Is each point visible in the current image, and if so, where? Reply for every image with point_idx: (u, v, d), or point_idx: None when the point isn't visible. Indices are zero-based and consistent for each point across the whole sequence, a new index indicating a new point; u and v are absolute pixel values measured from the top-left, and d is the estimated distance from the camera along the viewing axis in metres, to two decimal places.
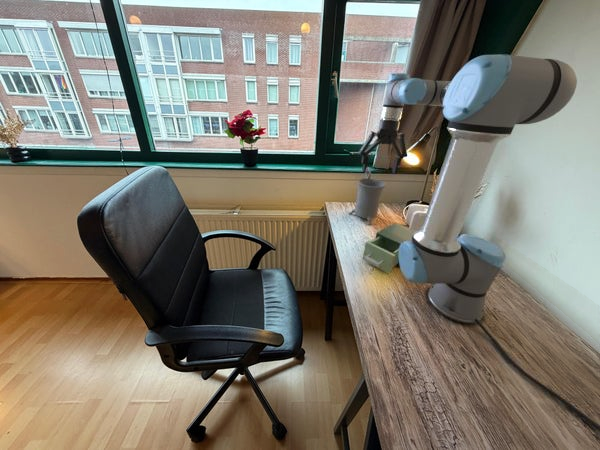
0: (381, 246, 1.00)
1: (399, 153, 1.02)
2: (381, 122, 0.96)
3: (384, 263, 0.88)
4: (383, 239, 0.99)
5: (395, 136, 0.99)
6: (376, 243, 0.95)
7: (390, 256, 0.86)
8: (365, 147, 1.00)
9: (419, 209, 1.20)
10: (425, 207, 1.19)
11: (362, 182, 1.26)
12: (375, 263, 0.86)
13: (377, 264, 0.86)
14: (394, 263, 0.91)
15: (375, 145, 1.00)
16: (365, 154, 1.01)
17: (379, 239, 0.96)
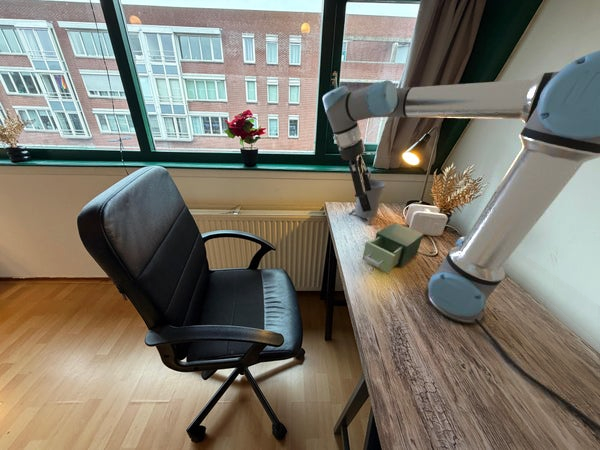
0: (381, 246, 1.00)
1: (365, 169, 0.86)
2: (352, 149, 0.73)
3: (384, 263, 0.88)
4: (383, 239, 0.99)
5: None
6: (376, 243, 0.95)
7: (390, 256, 0.86)
8: (362, 185, 0.74)
9: (419, 209, 1.20)
10: (425, 207, 1.19)
11: None
12: (375, 263, 0.86)
13: (377, 264, 0.86)
14: (394, 263, 0.91)
15: (361, 176, 0.76)
16: (365, 191, 0.76)
17: (379, 239, 0.96)
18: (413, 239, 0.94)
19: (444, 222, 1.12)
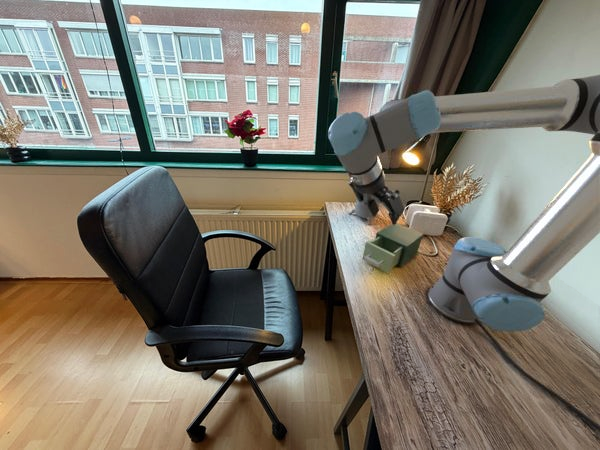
0: (381, 246, 1.00)
1: None
2: (382, 176, 0.56)
3: (384, 263, 0.88)
4: (383, 239, 0.99)
5: None
6: (376, 243, 0.95)
7: (390, 256, 0.86)
8: None
9: (419, 209, 1.20)
10: (425, 207, 1.19)
11: None
12: (375, 263, 0.86)
13: (377, 264, 0.86)
14: (394, 263, 0.91)
15: None
16: None
17: (379, 239, 0.96)
18: (413, 239, 0.94)
19: (444, 222, 1.12)
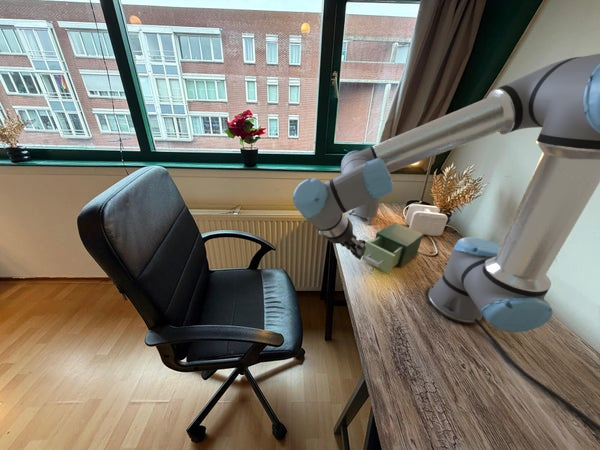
0: (381, 246, 1.00)
1: None
2: (349, 229, 0.59)
3: (384, 263, 0.88)
4: (383, 239, 0.99)
5: None
6: (376, 243, 0.95)
7: (390, 256, 0.86)
8: None
9: (419, 209, 1.20)
10: (425, 207, 1.19)
11: None
12: (375, 263, 0.86)
13: (377, 264, 0.86)
14: (394, 263, 0.91)
15: None
16: None
17: (379, 239, 0.96)
18: (413, 239, 0.94)
19: (444, 222, 1.12)
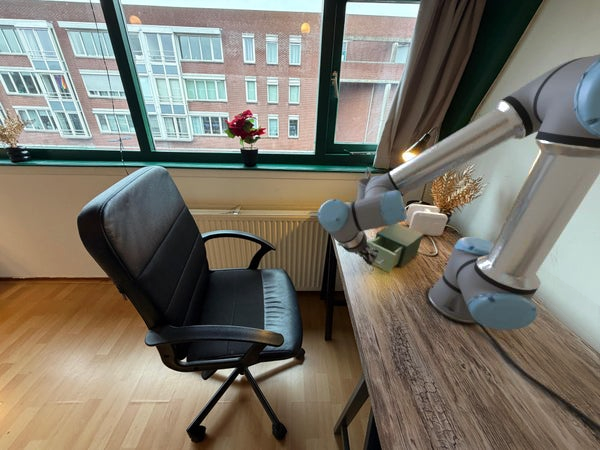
0: (382, 245, 1.01)
1: None
2: (364, 240, 0.68)
3: (385, 262, 0.89)
4: (384, 238, 0.99)
5: None
6: (377, 242, 0.96)
7: (391, 255, 0.86)
8: None
9: (419, 209, 1.20)
10: (425, 207, 1.19)
11: (362, 182, 1.26)
12: (376, 262, 0.87)
13: (378, 263, 0.86)
14: (395, 262, 0.91)
15: None
16: None
17: (380, 238, 0.96)
18: (413, 239, 0.94)
19: (444, 222, 1.12)
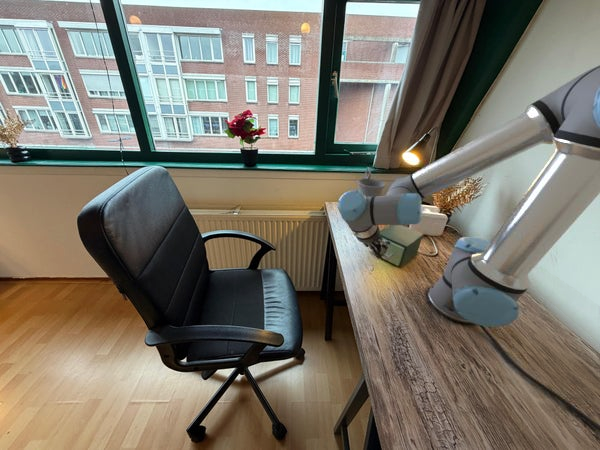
0: None
1: None
2: (377, 231, 0.72)
3: (394, 256, 0.93)
4: None
5: None
6: None
7: (399, 249, 0.90)
8: None
9: None
10: (425, 207, 1.19)
11: (362, 182, 1.26)
12: (385, 256, 0.91)
13: (387, 257, 0.90)
14: None
15: None
16: None
17: None
18: (413, 239, 0.94)
19: (444, 222, 1.12)
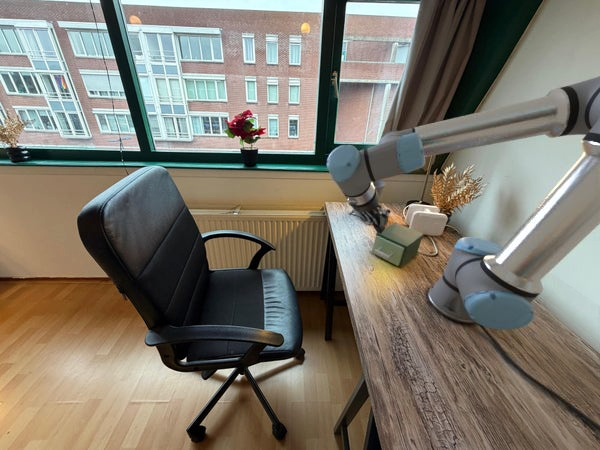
0: None
1: None
2: (375, 197, 0.63)
3: (394, 256, 0.93)
4: None
5: None
6: None
7: (399, 249, 0.90)
8: None
9: (419, 209, 1.20)
10: (425, 207, 1.19)
11: None
12: (385, 256, 0.91)
13: (387, 257, 0.90)
14: None
15: None
16: None
17: None
18: (413, 239, 0.94)
19: (444, 222, 1.12)
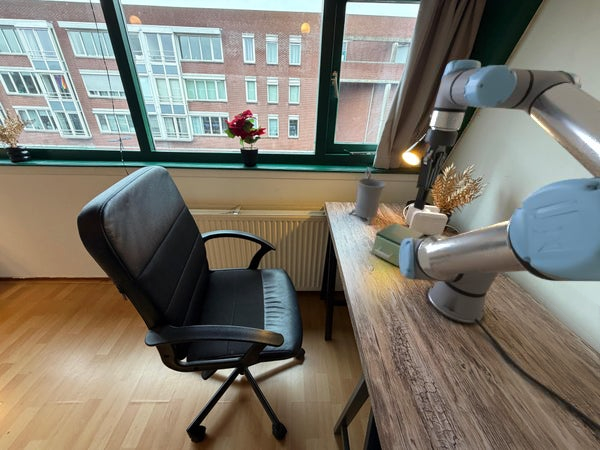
0: None
1: (432, 181, 0.73)
2: (440, 135, 0.64)
3: (394, 256, 0.93)
4: None
5: (443, 151, 0.71)
6: None
7: (399, 249, 0.90)
8: (427, 179, 0.70)
9: None
10: (425, 207, 1.19)
11: (362, 182, 1.26)
12: (385, 256, 0.91)
13: (387, 257, 0.90)
14: None
15: (433, 170, 0.70)
16: (427, 188, 0.72)
17: None
18: None
19: (444, 222, 1.12)
